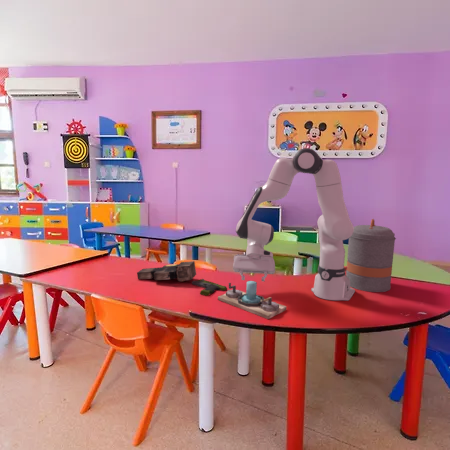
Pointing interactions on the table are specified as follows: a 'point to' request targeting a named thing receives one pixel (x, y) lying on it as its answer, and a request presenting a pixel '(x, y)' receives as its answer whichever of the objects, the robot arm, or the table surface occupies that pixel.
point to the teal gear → (251, 293)
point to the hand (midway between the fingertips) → (253, 280)
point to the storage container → (370, 258)
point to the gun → (208, 286)
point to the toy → (170, 272)
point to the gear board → (261, 309)
